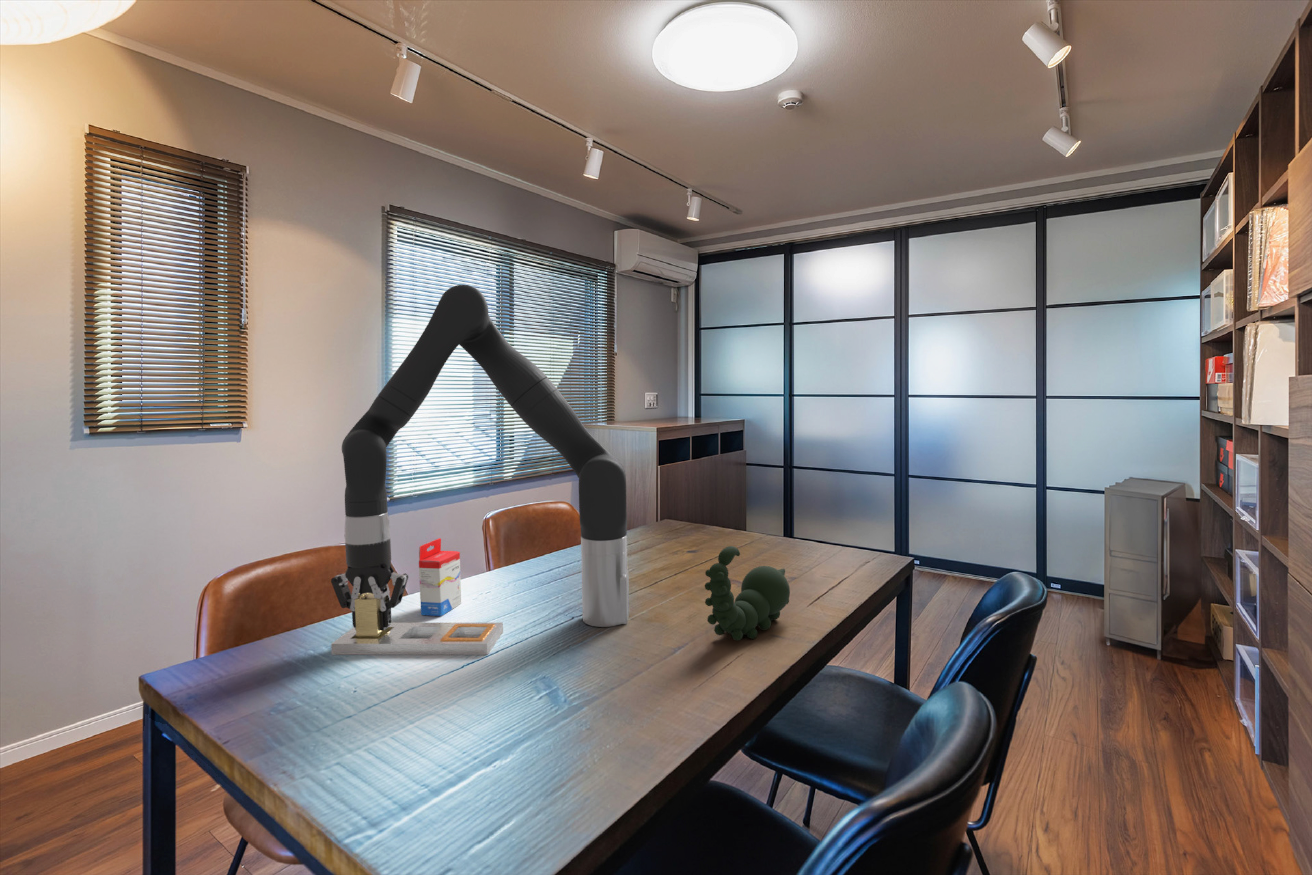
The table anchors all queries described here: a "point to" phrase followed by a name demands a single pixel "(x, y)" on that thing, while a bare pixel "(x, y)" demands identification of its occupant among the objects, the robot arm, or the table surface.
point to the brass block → (368, 618)
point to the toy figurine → (745, 597)
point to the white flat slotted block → (423, 640)
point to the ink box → (439, 579)
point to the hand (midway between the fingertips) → (372, 628)
